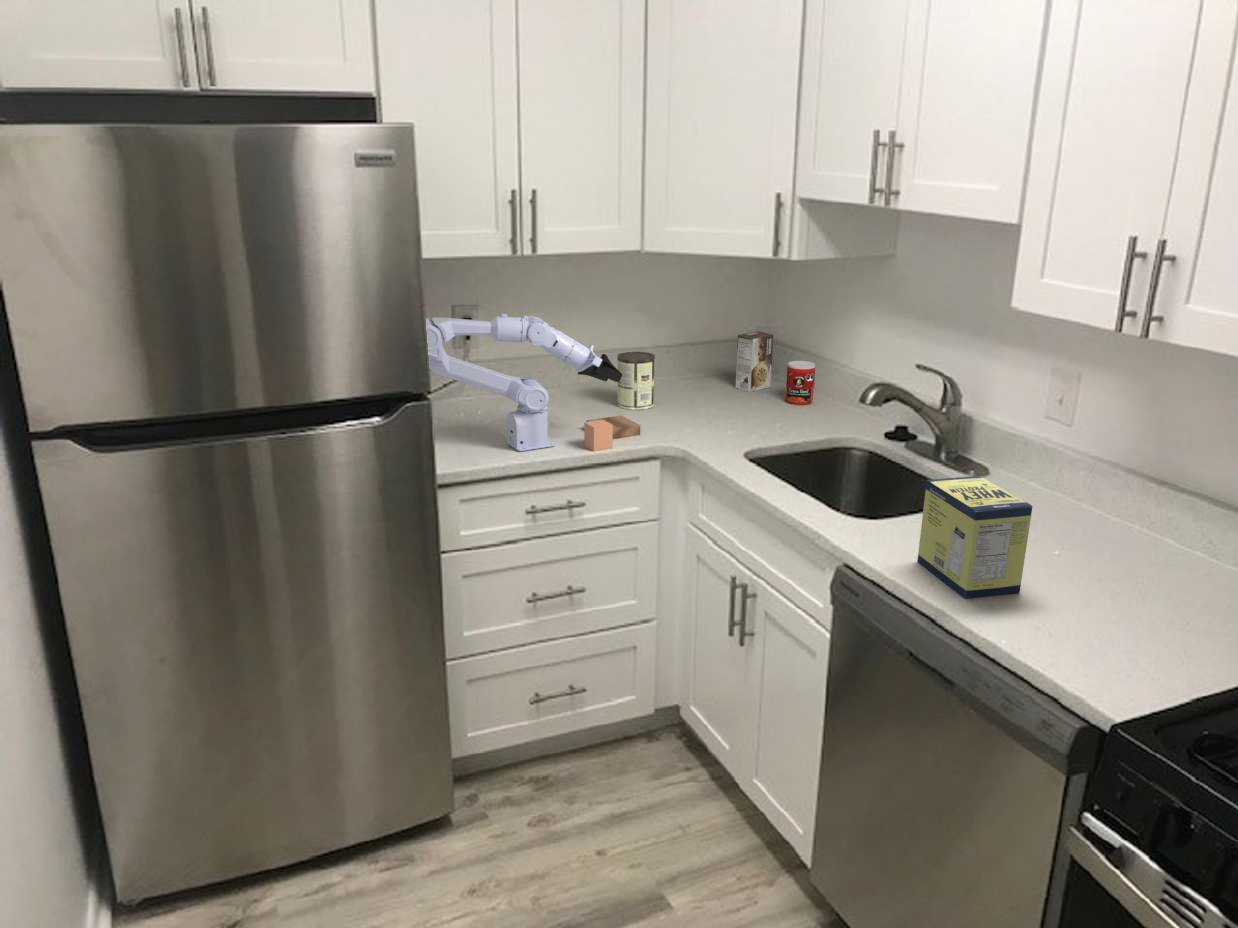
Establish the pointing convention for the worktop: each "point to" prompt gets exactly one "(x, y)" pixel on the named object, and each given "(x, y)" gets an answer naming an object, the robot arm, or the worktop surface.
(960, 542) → the protein box
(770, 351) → the brown white food box
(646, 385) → the coffee can
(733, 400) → the worktop surface
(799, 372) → the canned food
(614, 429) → the walnut base
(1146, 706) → the worktop surface
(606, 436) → the terracotta block
